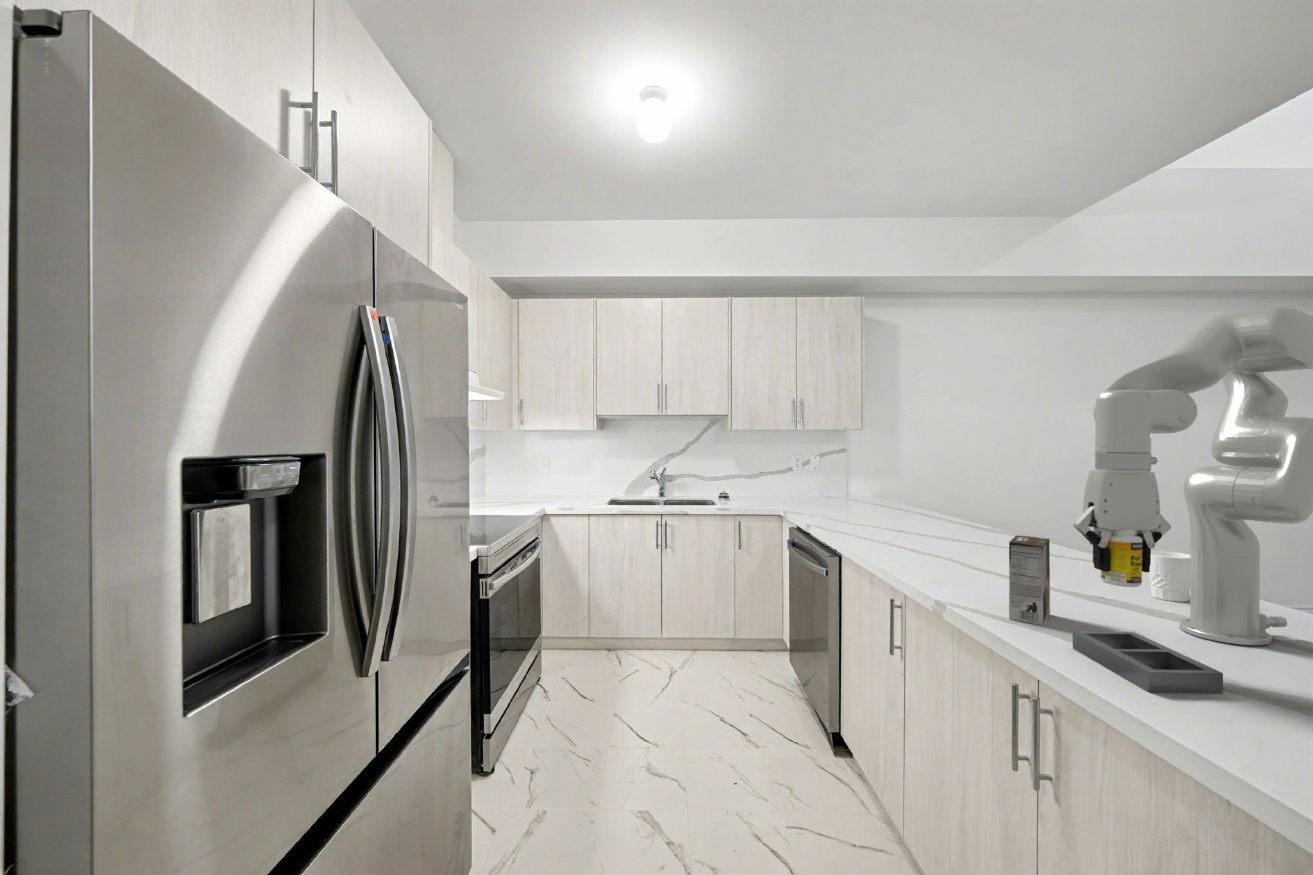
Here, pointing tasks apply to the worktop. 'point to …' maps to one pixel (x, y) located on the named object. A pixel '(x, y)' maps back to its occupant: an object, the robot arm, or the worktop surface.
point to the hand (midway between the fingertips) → (1121, 569)
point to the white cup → (1170, 576)
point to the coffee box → (1029, 579)
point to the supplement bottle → (1124, 559)
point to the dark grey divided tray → (1148, 663)
